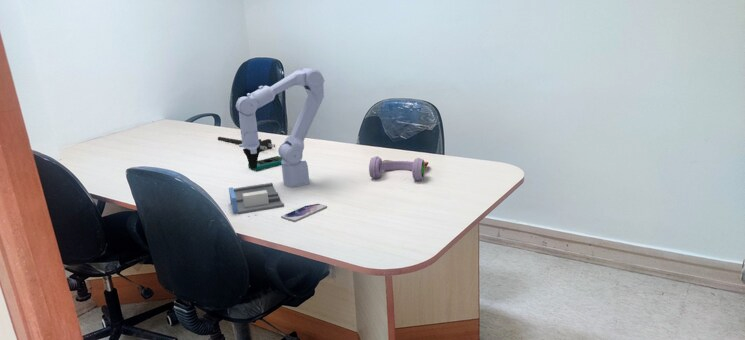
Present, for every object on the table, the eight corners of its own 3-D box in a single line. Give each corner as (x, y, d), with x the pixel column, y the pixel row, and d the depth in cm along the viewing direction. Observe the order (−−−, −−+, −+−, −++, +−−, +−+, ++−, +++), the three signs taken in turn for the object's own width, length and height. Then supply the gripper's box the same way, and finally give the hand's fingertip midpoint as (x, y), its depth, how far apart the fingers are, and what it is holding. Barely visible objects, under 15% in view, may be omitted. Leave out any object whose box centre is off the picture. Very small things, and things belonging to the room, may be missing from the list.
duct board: (272, 186, 204) (270, 170, 202) (284, 208, 182) (282, 191, 180) (227, 193, 199) (225, 177, 197) (234, 217, 177) (232, 199, 176)
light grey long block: (278, 198, 189) (277, 188, 188) (280, 201, 186) (279, 190, 185) (243, 204, 186) (242, 193, 184) (244, 207, 183) (243, 196, 182)
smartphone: (279, 216, 175) (313, 202, 186) (280, 218, 176) (313, 204, 186) (294, 221, 171) (328, 206, 182) (294, 223, 171) (328, 208, 182)
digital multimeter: (287, 164, 231) (287, 158, 230) (255, 172, 222) (255, 165, 222) (279, 161, 237) (278, 154, 236) (247, 169, 228) (246, 162, 227)
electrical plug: (263, 154, 246) (262, 144, 245) (212, 145, 273) (210, 135, 272) (278, 150, 252) (277, 139, 251) (227, 141, 279) (225, 131, 278)
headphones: (367, 161, 203) (381, 141, 220) (370, 185, 207) (383, 163, 224) (420, 164, 197) (429, 142, 214) (421, 188, 201) (430, 165, 219)
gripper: (235, 128, 197) (239, 164, 201) (239, 137, 184) (244, 175, 188) (255, 125, 199) (259, 161, 203) (261, 134, 186) (265, 172, 190)
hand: (253, 168), depth 196 cm, fingers closed
